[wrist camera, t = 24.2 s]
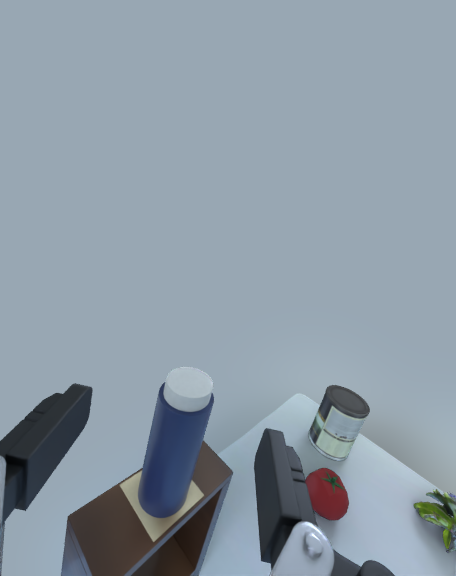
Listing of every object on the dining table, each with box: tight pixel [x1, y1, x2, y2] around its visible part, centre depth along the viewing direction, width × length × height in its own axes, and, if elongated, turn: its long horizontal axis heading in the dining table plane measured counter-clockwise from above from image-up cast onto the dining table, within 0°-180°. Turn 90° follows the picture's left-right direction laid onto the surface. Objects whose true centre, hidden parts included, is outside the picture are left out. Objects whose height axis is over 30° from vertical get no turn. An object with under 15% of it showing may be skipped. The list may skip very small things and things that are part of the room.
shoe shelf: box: [61, 441, 233, 576], centre depth 30 cm, size 16×7×20 cm, turn 138°
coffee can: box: [309, 385, 370, 461], centre depth 66 cm, size 10×10×14 cm
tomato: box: [305, 468, 349, 520], centre depth 50 cm, size 8×8×7 cm
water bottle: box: [138, 367, 214, 518], centre depth 26 cm, size 5×5×14 cm
